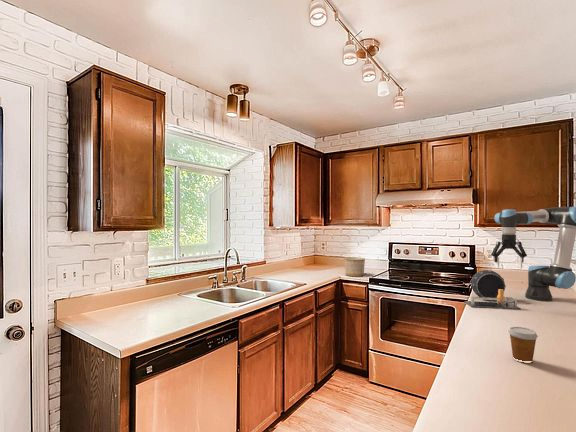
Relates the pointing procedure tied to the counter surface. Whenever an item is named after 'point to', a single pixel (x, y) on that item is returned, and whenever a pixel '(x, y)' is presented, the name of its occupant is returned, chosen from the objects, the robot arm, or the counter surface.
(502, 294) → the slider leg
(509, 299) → the grey slide rail
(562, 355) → the counter surface
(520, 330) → the disposable coffee cup
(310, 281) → the counter surface
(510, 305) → the bolt plate
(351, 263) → the planter
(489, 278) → the studded round pot
